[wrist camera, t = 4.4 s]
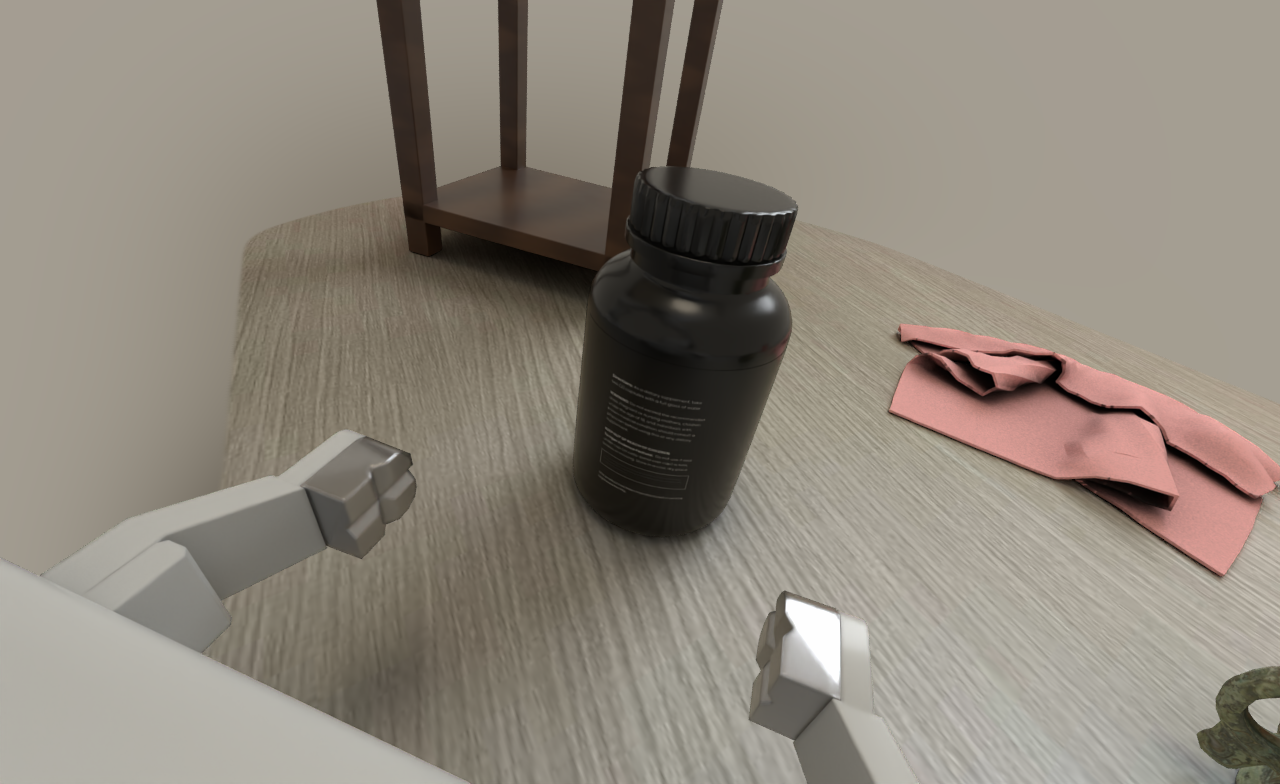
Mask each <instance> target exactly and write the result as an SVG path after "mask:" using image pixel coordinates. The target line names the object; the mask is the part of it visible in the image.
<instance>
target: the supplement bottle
mask: <svg viewBox="0 0 1280 784" xmlns="http://www.w3.org/2000/svg"><path fill="white" fill-rule="evenodd" d="M797 211H798V205H797V204H796V201H794V200H793V199H792V198H791V197H790V196H788V195H786V194H785V193H784V192H781V191H779V190H777V189H775V188H773V187H770V186H767V185H765V184H763V183H760V182H756V181H753V180H750V179H747V178H743V177H739V176H736V175H731V174H727V173H723V172H717V171H712V170H706V169H699V168H690V167H675V166H669V167H667V166H666V167H665V166H661V167H651V168H648V169H644V170H643V171H639V173H638V175H636V178H635V182H634V188H633V196H632V203H631V211H630V216H629V217H628V218H627V220H626V226H625V240H626V242H627V243H628V245H629V246H630V247H631V249H628V250H626V251H623V252H621V253H619V254H617V255H615V256H614V257H612V258H611V259H610V260H608V261H607V262H606V263H605V264H604V265H603V266H602V267H601V269H600V270H599V271H598V273H597V274H596V276H595V277H594V279H593V281H592V283H591V286H590V291H589V296H588V303H587V312H586V323H585V333H584V344H583V354H582V365H581V376H580V386H579V397H578V407H577V418H576V428H575V439H574V452H573V473H574V478H575V481H576V484H577V487H578V489H579V491H580V493H581V495H582V496H583V498H584V499H585V500H586V502H587V503H588V504H589V505H590V506H591V507H592V508H593V509H594V510H595V511H596V512H597V513H598V514H599V515H601V516H602V517H603V518H605V519H606V520H608V521H609V522H611V523H613V524H614V525H616V526H618V527H620V528H623V529H625V530H628V531H631V532H634V533H638V534H642V535H648V536H657V537H668V536H678V535H683V534H687V533H691V532H693V531H696V530H698V529H700V528H702V527H704V526H706V525H708V524H709V523H711V522H712V521H713V520H714V519H716V518H717V517H718V516H719V515H720V513H721V512H722V511H723V510H724V508H725V507H726V505H727V503H728V501H729V499H730V497H731V495H732V492H733V490H734V487H735V485H736V482H737V480H738V477H739V474H740V472H741V469H742V466H743V464H744V461H745V458H746V456H747V453H748V450H749V447H750V445H751V442H752V439H753V437H754V434H755V431H756V429H757V426H758V423H759V421H760V418H761V415H762V413H763V410H764V407H765V405H766V402H767V399H768V397H769V394H770V391H771V389H772V386H773V383H774V381H775V378H776V375H777V373H778V370H779V367H780V365H781V362H782V359H783V357H784V354H785V351H786V348H787V345H788V342H789V339H790V336H791V332H792V316H791V310H790V307H789V304H788V301H787V299H786V297H785V295H784V293H783V292H782V290H781V289H780V288H779V286H778V285H777V284H776V283H775V282H774V281H773V280H772V279H771V278H770V276H772V275H774V274H776V273H778V272H779V271H780V270H781V268H782V266H783V263H784V260H785V257H786V253H787V250H786V246H787V243H788V240H789V237H790V234H791V231H792V228H793V225H794V222H795V218H796V215H797Z"/></svg>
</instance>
